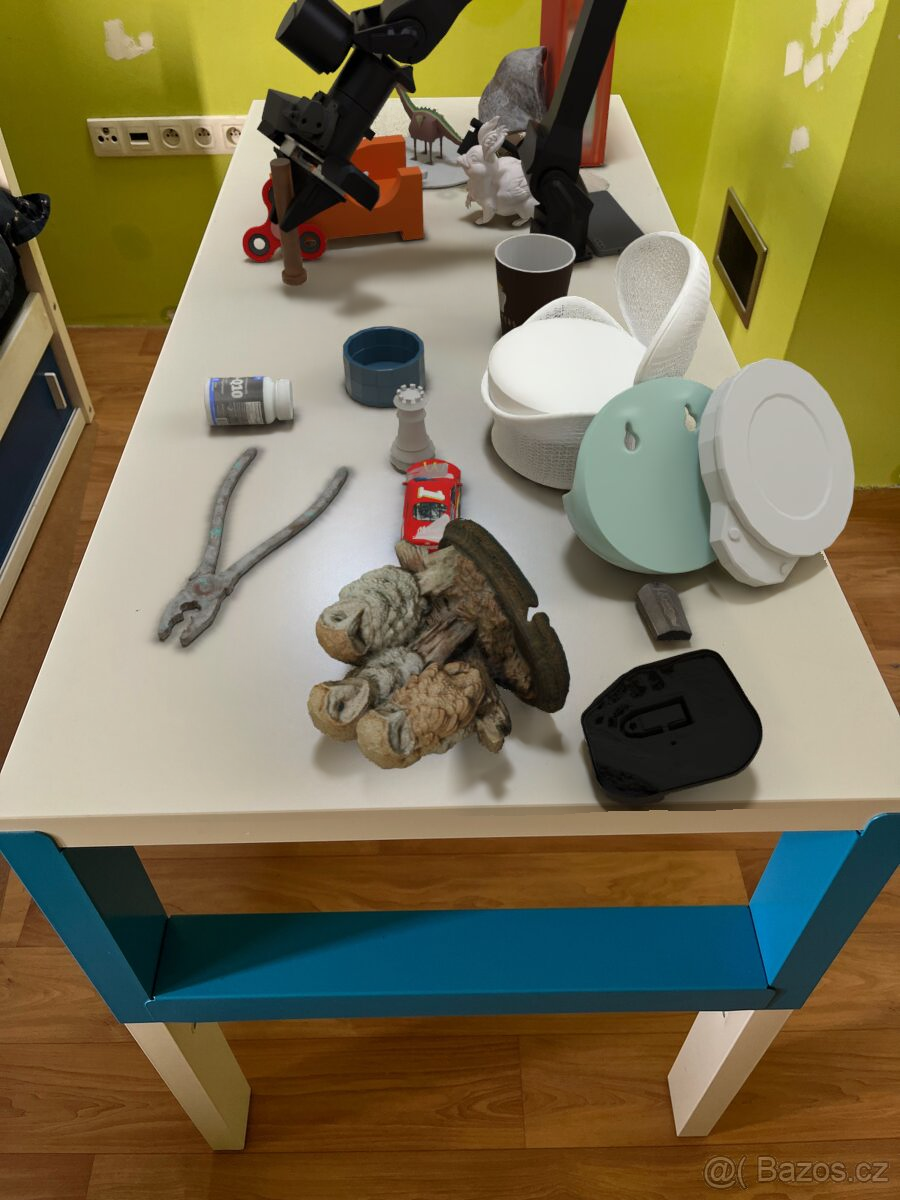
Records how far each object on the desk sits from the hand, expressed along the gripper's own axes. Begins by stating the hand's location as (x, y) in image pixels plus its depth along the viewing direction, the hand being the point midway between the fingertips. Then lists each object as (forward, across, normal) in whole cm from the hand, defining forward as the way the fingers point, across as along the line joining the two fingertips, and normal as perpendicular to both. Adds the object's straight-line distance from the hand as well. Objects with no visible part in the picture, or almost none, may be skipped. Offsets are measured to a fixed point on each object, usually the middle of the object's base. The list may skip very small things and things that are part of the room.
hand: (277, 226), depth 113 cm
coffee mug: (-8, +23, +20) cm, 31 cm away
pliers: (+16, +29, -4) cm, 33 cm away
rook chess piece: (+10, +36, +2) cm, 37 cm away
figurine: (-18, -1, +30) cm, 36 cm away
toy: (-1, -9, +6) cm, 11 cm away
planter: (+2, +61, +11) cm, 62 cm away
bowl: (+6, +23, +6) cm, 24 cm away
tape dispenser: (-5, -11, +17) cm, 21 cm away
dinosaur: (-19, -22, +31) cm, 42 cm away
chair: (-1, +42, +13) cm, 44 cm away
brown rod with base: (+4, 0, +6) cm, 7 cm away
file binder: (-34, -15, +46) cm, 59 cm away
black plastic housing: (+10, +75, -4) cm, 76 cm away
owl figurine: (+11, +62, -7) cm, 63 cm away
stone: (-28, -5, +37) cm, 47 cm away
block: (+6, +65, +6) cm, 66 cm away
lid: (-8, +61, +12) cm, 63 cm away
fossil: (-32, -18, +30) cm, 47 cm away
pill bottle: (+17, +18, -9) cm, 27 cm away
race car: (+12, +44, 0) cm, 46 cm away
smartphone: (-26, +1, +37) cm, 46 cm away
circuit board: (-28, -21, +38) cm, 52 cm away
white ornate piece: (-16, -10, +31) cm, 37 cm away
